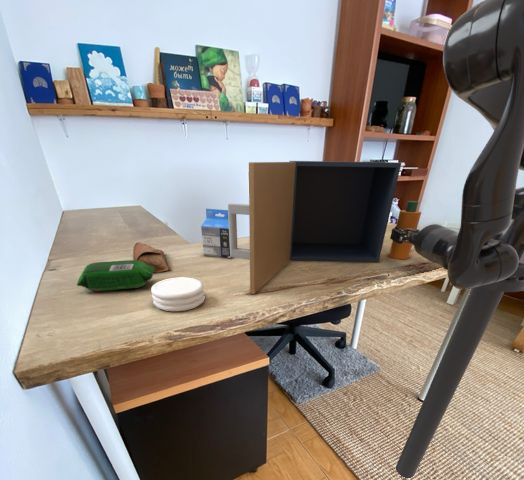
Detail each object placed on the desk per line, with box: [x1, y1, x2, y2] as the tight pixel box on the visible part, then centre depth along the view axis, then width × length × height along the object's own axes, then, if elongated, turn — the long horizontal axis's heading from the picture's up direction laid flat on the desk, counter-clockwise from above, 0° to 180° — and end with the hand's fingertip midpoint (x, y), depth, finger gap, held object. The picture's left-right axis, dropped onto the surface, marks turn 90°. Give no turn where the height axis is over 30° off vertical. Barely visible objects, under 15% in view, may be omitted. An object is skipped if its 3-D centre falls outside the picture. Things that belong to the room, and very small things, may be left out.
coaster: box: [150, 276, 206, 312], centre depth 58 cm, size 10×10×4 cm
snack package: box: [76, 259, 158, 292], centre depth 64 cm, size 7×16×5 cm, turn 104°
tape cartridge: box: [200, 208, 233, 259], centre depth 84 cm, size 9×4×12 cm, turn 72°
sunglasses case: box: [132, 242, 170, 274], centre depth 79 cm, size 18×7×7 cm, turn 22°
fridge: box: [288, 160, 402, 263], centre depth 85 cm, size 18×26×24 cm
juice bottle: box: [388, 200, 422, 260], centre depth 85 cm, size 6×6×15 cm
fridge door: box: [227, 161, 296, 295], centre depth 67 cm, size 6×26×24 cm, turn 159°
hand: (410, 230), depth 82 cm, fingers open, 8 cm apart
